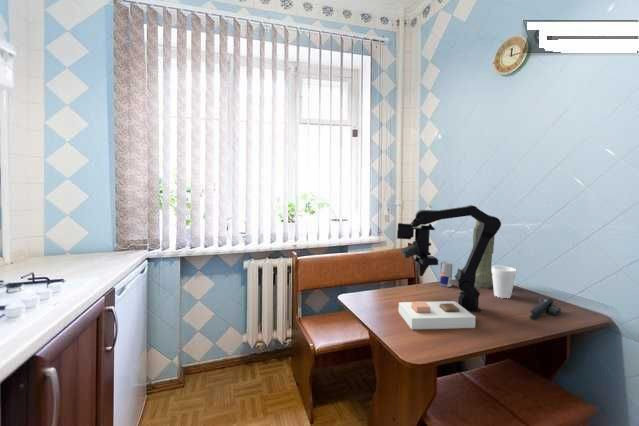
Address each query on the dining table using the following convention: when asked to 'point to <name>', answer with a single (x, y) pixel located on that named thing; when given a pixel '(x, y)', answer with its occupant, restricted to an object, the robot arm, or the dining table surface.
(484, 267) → the thermos
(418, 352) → the dining table surface
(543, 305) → the can opener
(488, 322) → the dining table surface
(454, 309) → the walnut key
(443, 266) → the energy drink
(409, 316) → the key panel
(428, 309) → the terracotta key
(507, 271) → the foam cup
